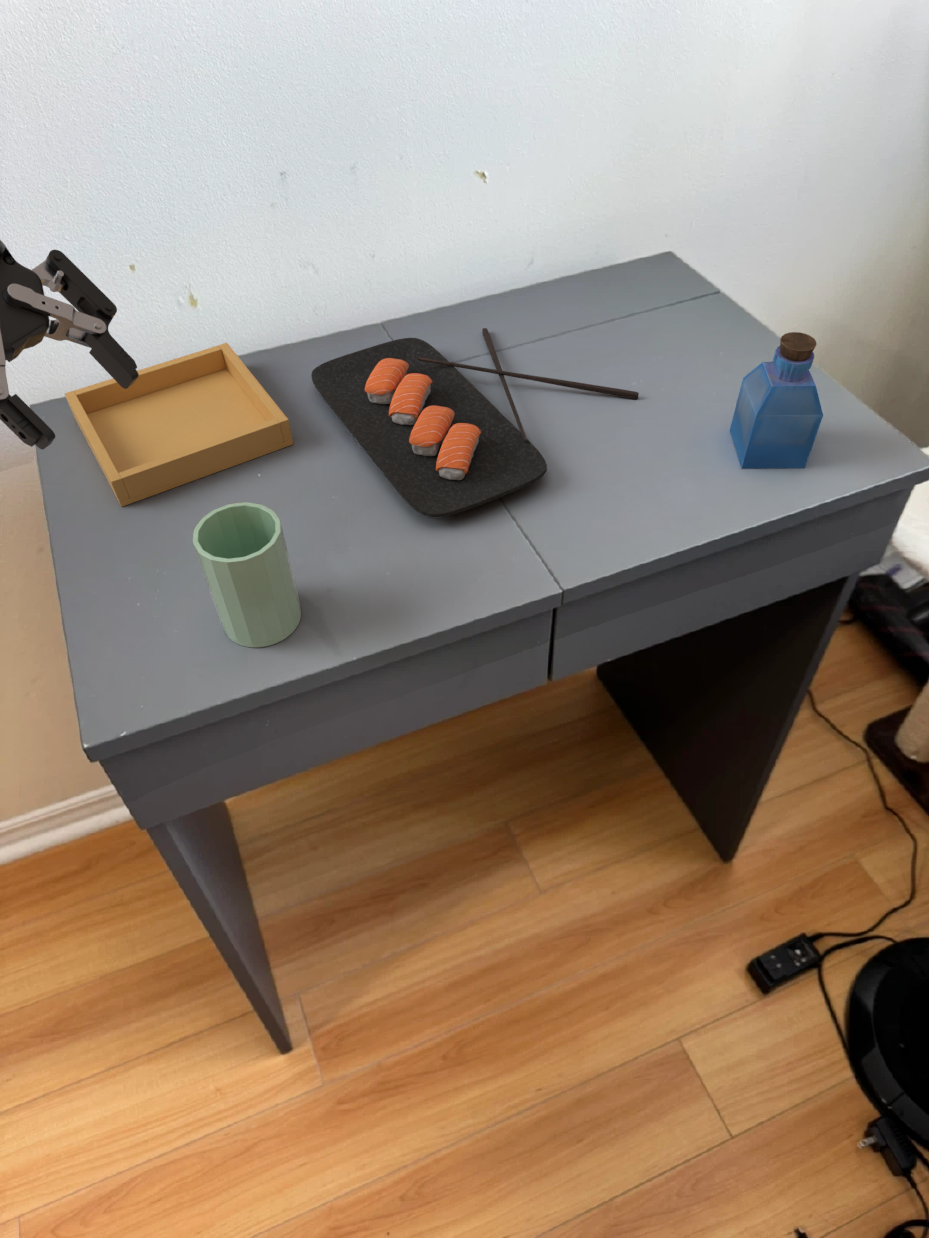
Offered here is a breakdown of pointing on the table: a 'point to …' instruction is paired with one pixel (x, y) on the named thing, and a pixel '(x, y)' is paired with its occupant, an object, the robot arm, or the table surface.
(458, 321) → the table surface
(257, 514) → the teacup
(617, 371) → the table surface
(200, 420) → the tray
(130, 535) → the table surface
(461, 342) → the table surface
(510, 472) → the sushi plate
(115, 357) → the robot arm
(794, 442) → the perfume bottle
